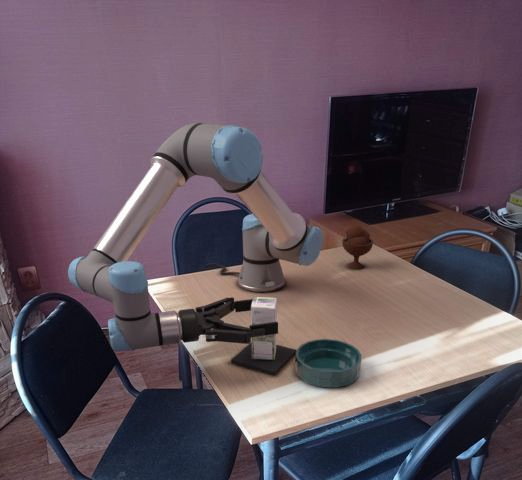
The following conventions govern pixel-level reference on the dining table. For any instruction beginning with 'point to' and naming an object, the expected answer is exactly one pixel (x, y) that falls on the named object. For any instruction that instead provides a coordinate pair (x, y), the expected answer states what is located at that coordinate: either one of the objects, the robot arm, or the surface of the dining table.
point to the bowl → (328, 363)
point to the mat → (264, 365)
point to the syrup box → (262, 313)
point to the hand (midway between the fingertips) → (269, 315)
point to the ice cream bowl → (357, 244)
